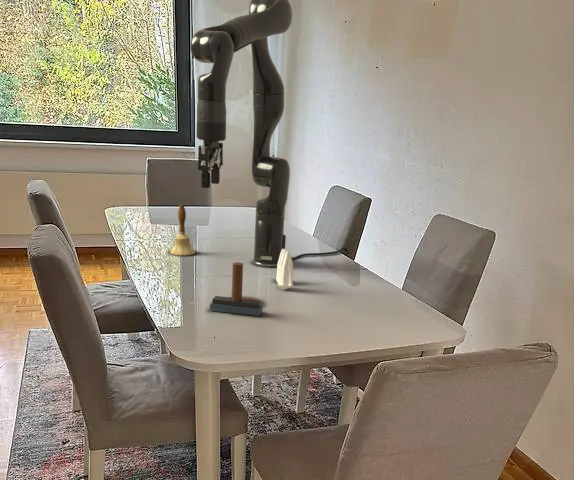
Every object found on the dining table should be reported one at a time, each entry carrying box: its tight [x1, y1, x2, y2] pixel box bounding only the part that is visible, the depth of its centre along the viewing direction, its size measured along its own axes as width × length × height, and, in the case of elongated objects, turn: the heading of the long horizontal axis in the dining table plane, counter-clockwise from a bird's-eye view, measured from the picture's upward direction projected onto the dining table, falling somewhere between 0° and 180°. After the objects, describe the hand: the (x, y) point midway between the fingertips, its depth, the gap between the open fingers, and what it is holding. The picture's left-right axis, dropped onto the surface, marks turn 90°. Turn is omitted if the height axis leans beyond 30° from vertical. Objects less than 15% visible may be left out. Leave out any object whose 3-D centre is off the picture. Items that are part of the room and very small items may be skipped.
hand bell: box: [169, 203, 196, 257], centre depth 210 cm, size 8×8×16 cm
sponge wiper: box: [209, 261, 264, 317], centre depth 160 cm, size 4×13×13 cm, turn 80°
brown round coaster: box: [242, 296, 264, 306], centre depth 170 cm, size 10×10×1 cm
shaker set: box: [275, 248, 294, 290], centre depth 184 cm, size 12×4×11 cm, turn 4°
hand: (210, 185), depth 168 cm, fingers open, 8 cm apart
